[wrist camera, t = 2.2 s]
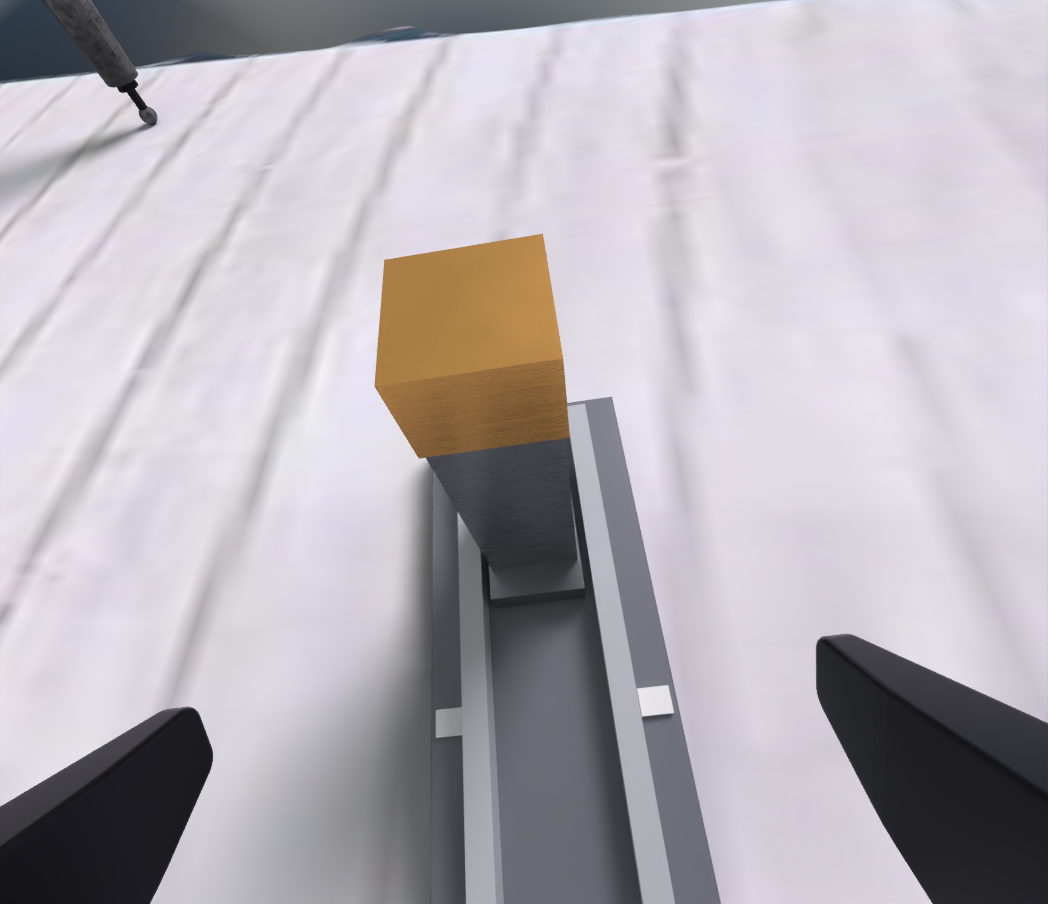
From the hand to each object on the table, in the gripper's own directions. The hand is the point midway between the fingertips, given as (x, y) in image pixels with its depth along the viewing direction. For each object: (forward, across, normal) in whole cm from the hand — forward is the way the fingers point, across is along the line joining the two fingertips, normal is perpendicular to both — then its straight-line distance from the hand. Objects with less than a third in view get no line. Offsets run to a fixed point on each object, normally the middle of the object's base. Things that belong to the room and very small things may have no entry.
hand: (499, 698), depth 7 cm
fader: (+12, 0, +3) cm, 12 cm away
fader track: (+11, 0, +6) cm, 13 cm away
